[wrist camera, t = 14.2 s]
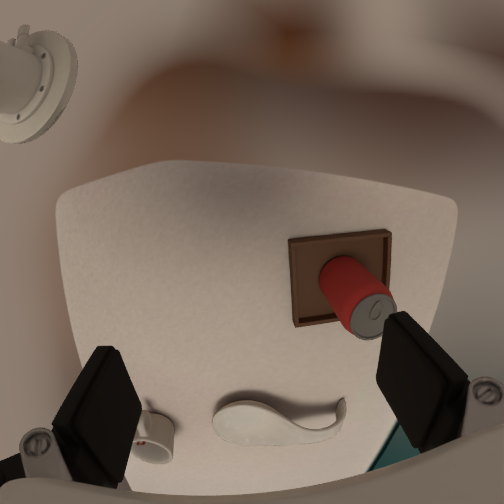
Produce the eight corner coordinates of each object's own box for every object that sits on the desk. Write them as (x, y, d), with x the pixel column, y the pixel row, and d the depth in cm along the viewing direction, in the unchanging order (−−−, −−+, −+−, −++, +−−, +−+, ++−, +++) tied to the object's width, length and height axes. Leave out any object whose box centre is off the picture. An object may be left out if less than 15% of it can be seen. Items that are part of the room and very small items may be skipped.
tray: (287, 239, 39) (290, 243, 37) (385, 229, 39) (392, 232, 37) (292, 320, 43) (294, 327, 41) (381, 306, 43) (387, 312, 41)
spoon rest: (215, 431, 49) (213, 460, 42) (210, 389, 46) (207, 420, 39) (336, 423, 50) (346, 450, 44) (348, 381, 47) (361, 409, 40)
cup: (126, 397, 46) (114, 428, 38) (167, 397, 46) (158, 430, 39) (145, 433, 49) (138, 463, 42) (183, 434, 49) (178, 465, 42)
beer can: (367, 258, 40) (409, 293, 28) (354, 301, 42) (388, 345, 30) (324, 250, 39) (357, 285, 28) (312, 295, 41) (337, 342, 30)
